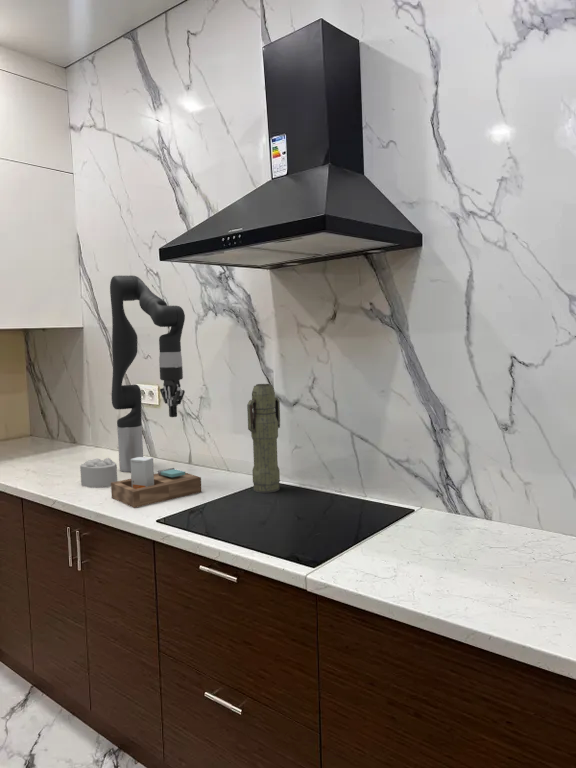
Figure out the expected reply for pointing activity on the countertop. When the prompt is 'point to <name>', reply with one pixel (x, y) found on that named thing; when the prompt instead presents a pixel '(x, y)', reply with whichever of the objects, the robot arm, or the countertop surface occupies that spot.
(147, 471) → the skincare box
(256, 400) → the thermos
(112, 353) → the robot arm
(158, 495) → the socket block
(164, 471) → the teal card holder
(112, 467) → the lumpy-topped squat cylinder
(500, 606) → the countertop surface
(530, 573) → the countertop surface
